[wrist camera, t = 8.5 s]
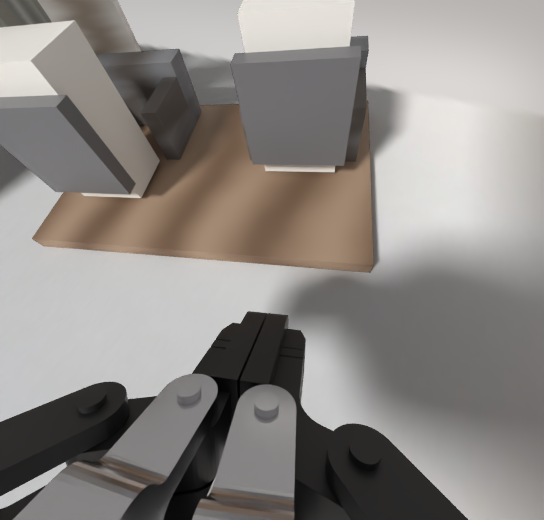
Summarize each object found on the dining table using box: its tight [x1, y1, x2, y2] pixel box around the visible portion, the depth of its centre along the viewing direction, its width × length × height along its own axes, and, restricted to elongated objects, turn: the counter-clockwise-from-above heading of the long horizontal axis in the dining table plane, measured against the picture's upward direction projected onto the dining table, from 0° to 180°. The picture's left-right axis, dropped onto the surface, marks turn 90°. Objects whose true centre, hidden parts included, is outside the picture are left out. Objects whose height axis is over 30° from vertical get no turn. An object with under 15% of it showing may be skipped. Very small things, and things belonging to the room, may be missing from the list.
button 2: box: [0, 20, 160, 198], centre depth 17 cm, size 6×5×9 cm
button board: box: [32, 0, 374, 272], centre depth 17 cm, size 25×16×11 cm, turn 81°
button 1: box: [230, 0, 361, 172], centre depth 16 cm, size 6×5×9 cm
